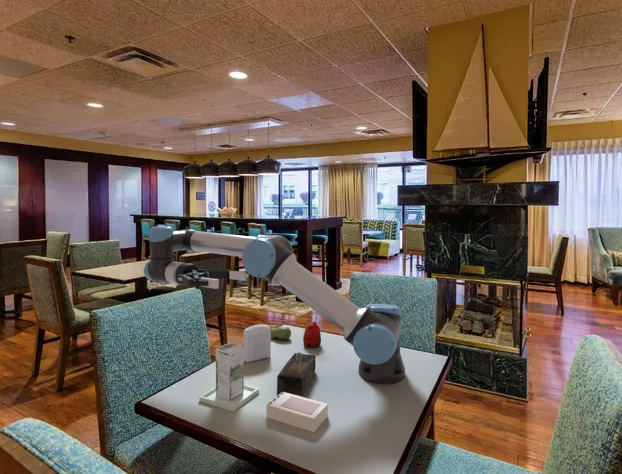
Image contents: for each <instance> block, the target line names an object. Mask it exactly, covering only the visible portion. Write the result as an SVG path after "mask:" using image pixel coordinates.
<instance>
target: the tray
mask: <svg viewBox="0 0 622 474" xmlns="http://www.w3.org/2000/svg"><path fill="white" fill-rule="evenodd" d="M259 393H260V388H259V387H254V386H250V385H248V384H244V392H243V394H241V395H239V396H238V397H236V398H234V399H232V400H231V401H228V400H226V399H223V398H221V397H218V396H216V386H214V387H213V388H211V389H209V390H208V391H206V392H205V393H203V394H201V395H200V396H199V399H198V400H199V402H201V403H205V404H207V405H210V406H214V407H217V408H219V409H223V410H225V411H229V412H232V413H233V412H235V411H236V410H237V409H239V408H240V407H242V406H243V405H244V404H246V403H247V402H249V401H250V400H252V399H253V398H254V397H255V396H256V395H258V394H259Z"/></svg>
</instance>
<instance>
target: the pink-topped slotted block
mask: <svg viewBox="0 0 622 474" xmlns="http://www.w3.org/2000/svg"><path fill="white" fill-rule="evenodd" d="M265 410H266V419H270V420H273V421H276V422H280V423H283V424H286V425H289V426H293V427H295V428H298V429H301V430H305V431H308V432H312V433H315V432H316V431H317V430H318V428H319V427H320V426H321V425H322V424H323V423H324V422H325V420H326V419H327V418H328V415H329V403H326V402H323V401H319V400H314V399H310V398H308V397H304V396H302V397H300V396H297V395H293V394H289V393H286V392H282V393H280V394H279V395H277V396H275V397H274V398H273V399H271V400H270V401H269V402H268V403H267V404H266V409H265Z"/></svg>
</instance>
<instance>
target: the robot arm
mask: <svg viewBox="0 0 622 474" xmlns="http://www.w3.org/2000/svg"><path fill="white" fill-rule="evenodd" d="M148 240H149V252H150V253H149V254H150V255H149V256H150V259H149V260H148V261H147V262H146V263H145V264H144V267H143V274H144V277H145V278H146V279H147V280H149V281H152V282H155V283H164V284H172V285H174V286H175V287H178V286H183V287H188V288H191V289H192V288H194V287H195V290H200V287H202V288H208V289H216V290H217V289H220V284H219V283H220V281H219V279H230V280H236V281H244V282H247V280H248V276H247V273H248V274H249V275H251V276H253V277H255V278H263V279H265V280H266V281H268V283H270V284H271V285H273V286H275V285H281V286H282V287H283V288H285V289H286V290H288V291H289V292H290V293H291V294H292V295H294V296H295V297H297V298H298V300H300V301H302V302H303V303H305V304H306V305H307V306H308V307H310V308H311V309H312V310H314V311H315V312H316V313H317V312H318V313H317V314H319V315H320V316H322V317H323V318H324V319H325V320H327V321H328V322H330V323H331V324H332V325H334V326H335V327H336V328H337V329H339V330H340V331H341V332H342V334H343V339H344V340H345V341H346V342H347V343H349V344H350V345H351V346H353V350H354V353H355V354H356V356H357V358H359V359H360V360H359V364H358V374H359V376H360V377H361V378H363V379H364V380H366V381H369V382H372V383H377V384H385V385H386V384H389V385H390V384H394V383H398V382H401V381H403V380H404V379H405V377H406V367H405V364H404V361H403V357H402V355H401V335H402V334H401V332H402V331H401V329H402V325H401V324H402V323H401V322H402V317H403V316H402V309H401V308H400V307H399V306H398V305H394V304H385V303H369V304H367V305H365V307H358V306H357V305H356V304H354V302H352V301H351V300H349V299H348V298H347V297H346V296H343V295H342V294H341V293H340V292H338V290H336V289H334V288H333V287H332V286H330V285H329V284H327V283H326V282H324V281H323V280H322V279H321V278H319V277H318V276H316V275H315V274H314V273H313V272H311V271H310V270H308V269H307V268H305V267H304V266H303V265H302V264H300V263H299V262H298V261H297V258H296V254H295V253H293V252H294V251H293V246H292V244H291V242H290V240H288V238H287V237H284V236H283V235H279V234H273V235H267V234H266V235H265V234H259V235H258V236H246V235H237V234H229V233H228V234H227V233H218V232H211V231H207V232H206V231H199V230H196V229H195V230H194V229H193V228H192V229H190V228H186V229H179V230H174V229H173V227H172V226H170V225H169V226H166V225H165V226H164V225H163V226H152V227H151V228H150V229H149V239H148ZM180 251H190V252H192V251H193V252H199V253H208V254H218V255H225V256H232V257H239V258H240V257H241V260H242V266H243V268H244V269H245V271H237V270H235V269H233V268H232V267H231V268H230V269H225V268H224V269H223V268H222V269H221V268H220V269H219V268H216V269H215V268H214V269H213V268H205V269H203V268H198V267H197V265H195V264H194V263H189V262H188V263H187V262H181V261H180V262H178V261H174V258H175V256H174V252H180Z"/></svg>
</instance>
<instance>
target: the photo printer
mask: <svg viewBox="0 0 622 474" xmlns="http://www.w3.org/2000/svg"><path fill="white" fill-rule="evenodd" d="M271 329H272V328H271V327H270V325H268V324H264V323H263V324H262V323H260V324H255V325H251V326H248V327H247V328H245V329H244V330H243V332H242V333H243V336H242V338H243V340H242V341H243V343H242V346H243V347H244V362H245V363H249V362H250V363H251V362H256V361H259V360H264V359H268V358H271V353H272V349H271V345H272V343H271V342H272V341H271V340H272V339H271Z"/></svg>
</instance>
